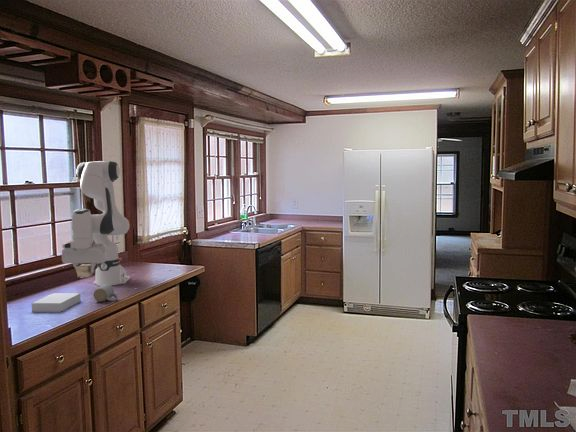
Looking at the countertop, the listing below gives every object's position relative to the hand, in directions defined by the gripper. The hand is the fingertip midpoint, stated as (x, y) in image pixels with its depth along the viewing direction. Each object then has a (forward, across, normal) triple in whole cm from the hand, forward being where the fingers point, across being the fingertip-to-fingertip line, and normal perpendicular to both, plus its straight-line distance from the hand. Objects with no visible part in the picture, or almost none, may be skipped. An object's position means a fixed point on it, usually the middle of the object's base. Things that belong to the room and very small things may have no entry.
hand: (84, 272), depth 225 cm
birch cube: (+2, 0, 0) cm, 2 cm away
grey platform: (+17, +16, -2) cm, 23 cm away
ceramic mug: (+17, -4, -13) cm, 22 cm away
